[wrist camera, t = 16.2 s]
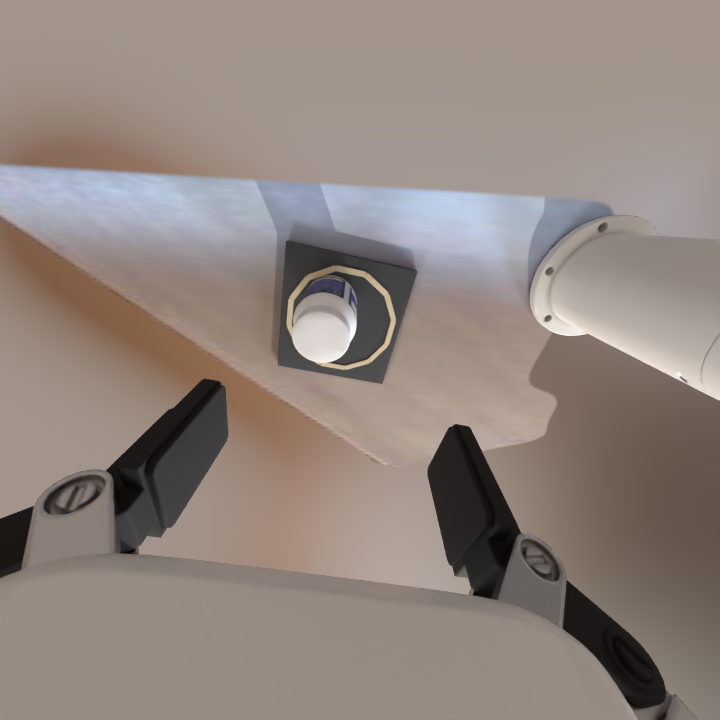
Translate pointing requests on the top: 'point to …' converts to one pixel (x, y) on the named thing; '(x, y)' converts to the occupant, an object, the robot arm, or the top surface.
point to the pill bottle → (325, 319)
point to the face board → (374, 309)
